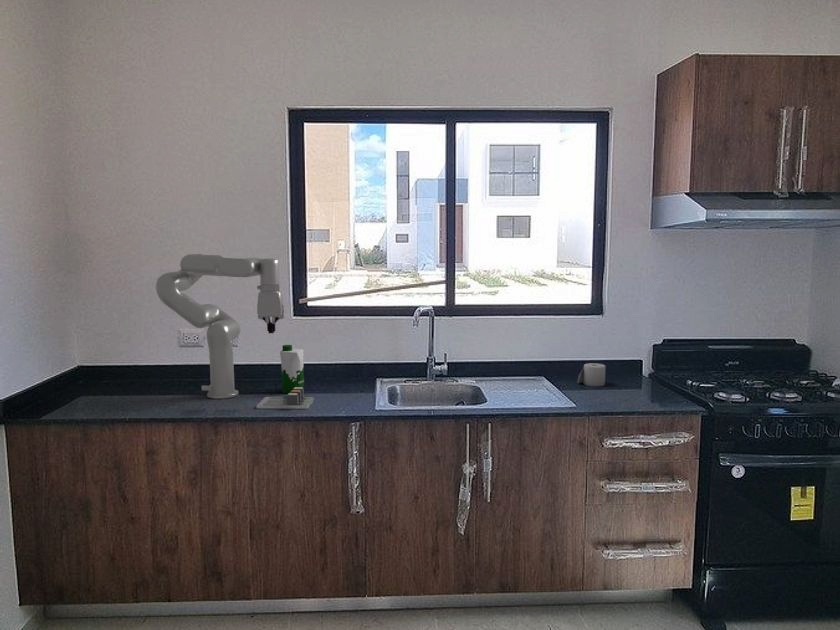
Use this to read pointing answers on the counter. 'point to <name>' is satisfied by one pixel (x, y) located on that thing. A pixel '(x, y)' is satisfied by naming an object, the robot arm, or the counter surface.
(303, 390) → the breaker back
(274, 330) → the robot arm
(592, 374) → the toilet tissue
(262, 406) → the panel
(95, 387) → the counter surface
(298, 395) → the block
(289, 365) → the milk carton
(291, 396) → the breaker front
